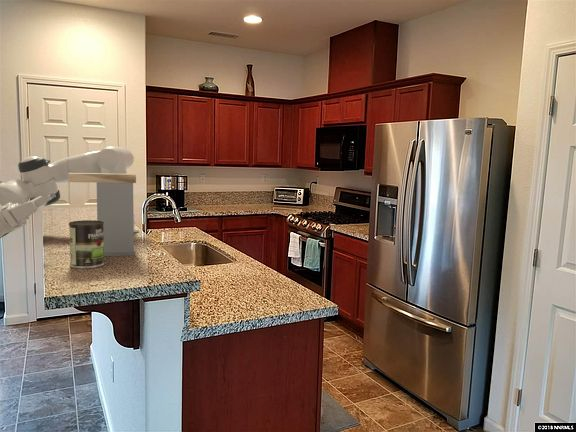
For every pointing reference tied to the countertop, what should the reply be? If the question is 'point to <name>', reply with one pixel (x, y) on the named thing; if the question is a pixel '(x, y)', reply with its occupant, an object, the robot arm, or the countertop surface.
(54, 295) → the countertop surface
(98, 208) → the upright
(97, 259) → the coffee can
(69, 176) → the rail
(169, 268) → the countertop surface
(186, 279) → the countertop surface
